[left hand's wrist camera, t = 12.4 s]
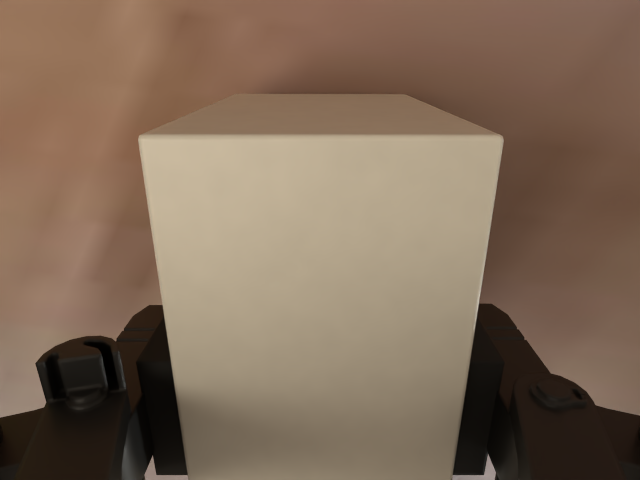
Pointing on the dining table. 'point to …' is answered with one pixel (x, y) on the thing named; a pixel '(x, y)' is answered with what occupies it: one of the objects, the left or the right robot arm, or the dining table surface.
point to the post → (320, 281)
